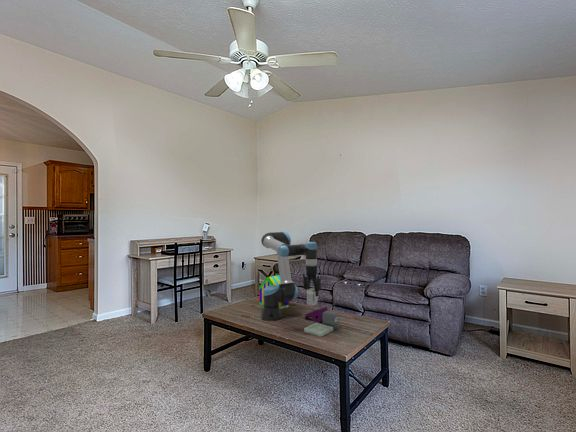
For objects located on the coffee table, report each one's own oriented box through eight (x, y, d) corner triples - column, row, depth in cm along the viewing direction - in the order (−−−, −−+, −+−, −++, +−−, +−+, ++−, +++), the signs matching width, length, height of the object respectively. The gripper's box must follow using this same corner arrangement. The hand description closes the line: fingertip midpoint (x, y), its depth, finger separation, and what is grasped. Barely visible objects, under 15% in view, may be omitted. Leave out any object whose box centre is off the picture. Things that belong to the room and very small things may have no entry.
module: (306, 304, 217) (306, 289, 217) (311, 302, 220) (311, 288, 221) (312, 305, 213) (312, 290, 213) (317, 304, 217) (317, 289, 217)
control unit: (322, 327, 223) (322, 312, 223) (326, 324, 227) (326, 310, 227) (334, 330, 217) (334, 314, 217) (338, 327, 221) (338, 313, 221)
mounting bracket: (305, 326, 241) (322, 321, 229) (301, 315, 244) (318, 309, 232) (314, 323, 248) (330, 318, 236) (310, 312, 250) (326, 306, 238)
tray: (304, 331, 214) (304, 328, 214) (316, 326, 224) (316, 322, 224) (321, 336, 205) (321, 332, 205) (333, 330, 216) (333, 326, 216)
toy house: (289, 306, 274) (289, 276, 273) (277, 310, 264) (276, 279, 264) (271, 301, 292) (271, 273, 292) (259, 304, 283) (258, 275, 282)
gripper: (297, 265, 221) (298, 299, 220) (319, 266, 209) (320, 303, 208) (304, 263, 226) (305, 297, 226) (326, 265, 214) (327, 301, 214)
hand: (312, 300), depth 217 cm, fingers closed on module, 5 cm apart
